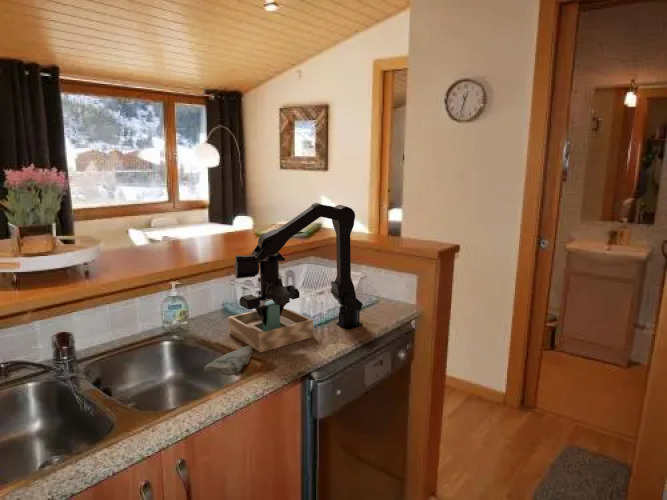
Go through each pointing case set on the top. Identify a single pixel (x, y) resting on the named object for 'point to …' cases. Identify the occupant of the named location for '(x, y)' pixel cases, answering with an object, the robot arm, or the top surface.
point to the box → (252, 334)
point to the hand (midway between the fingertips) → (270, 323)
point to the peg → (272, 316)
